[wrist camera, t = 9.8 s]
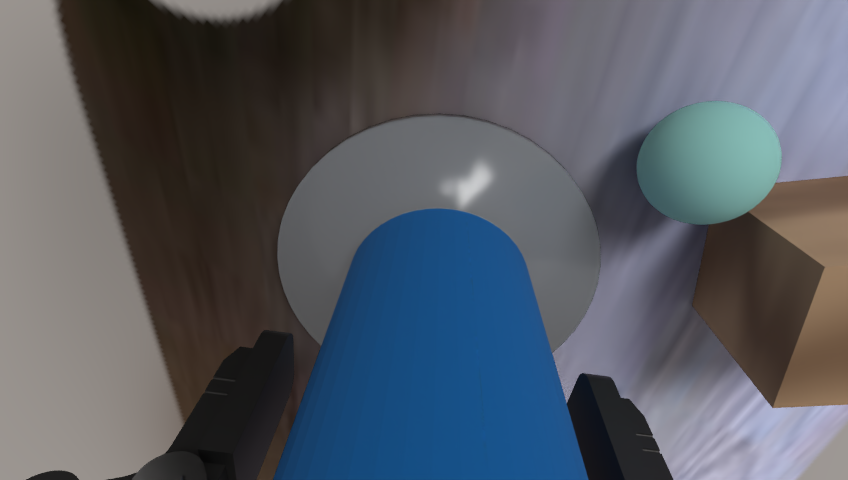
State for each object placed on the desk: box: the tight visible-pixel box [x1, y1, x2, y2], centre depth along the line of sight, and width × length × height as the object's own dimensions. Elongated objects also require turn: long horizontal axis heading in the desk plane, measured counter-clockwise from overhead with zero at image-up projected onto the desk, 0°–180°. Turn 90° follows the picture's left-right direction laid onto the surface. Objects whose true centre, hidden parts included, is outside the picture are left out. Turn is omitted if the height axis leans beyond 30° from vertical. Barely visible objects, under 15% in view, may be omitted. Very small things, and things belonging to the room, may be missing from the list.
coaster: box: [277, 114, 601, 353], centre depth 17 cm, size 12×12×1 cm
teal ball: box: [637, 101, 782, 225], centre depth 13 cm, size 4×4×4 cm
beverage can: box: [273, 208, 589, 480], centre depth 11 cm, size 6×6×12 cm
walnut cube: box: [692, 176, 848, 408], centre depth 14 cm, size 5×5×5 cm
